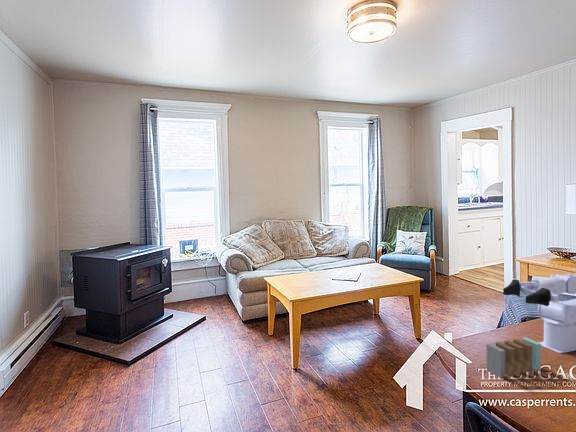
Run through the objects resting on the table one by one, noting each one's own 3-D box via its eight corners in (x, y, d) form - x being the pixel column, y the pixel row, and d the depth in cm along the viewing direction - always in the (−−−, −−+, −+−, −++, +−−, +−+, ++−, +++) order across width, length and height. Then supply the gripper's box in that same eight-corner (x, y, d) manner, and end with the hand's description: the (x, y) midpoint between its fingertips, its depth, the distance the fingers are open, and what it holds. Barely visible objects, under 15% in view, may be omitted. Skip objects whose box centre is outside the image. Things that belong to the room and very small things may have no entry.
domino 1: (499, 367, 106) (499, 341, 106) (514, 375, 102) (514, 348, 101) (495, 367, 106) (495, 342, 106) (509, 376, 101) (510, 349, 101)
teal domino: (525, 361, 109) (525, 337, 109) (540, 369, 104) (540, 343, 104) (521, 362, 109) (521, 338, 108) (536, 370, 104) (536, 344, 103)
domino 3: (516, 363, 108) (517, 338, 108) (532, 371, 103) (532, 345, 103) (512, 364, 108) (513, 339, 107) (527, 372, 103) (528, 346, 103)
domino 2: (508, 365, 107) (508, 340, 107) (523, 373, 103) (523, 347, 102) (504, 366, 107) (504, 341, 106) (518, 374, 102) (519, 347, 102)
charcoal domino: (490, 368, 106) (490, 343, 105) (505, 377, 101) (505, 350, 100) (486, 369, 105) (486, 344, 105) (500, 378, 100) (500, 351, 100)
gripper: (524, 271, 121) (495, 277, 117) (569, 283, 108) (538, 291, 104) (523, 290, 123) (494, 296, 118) (567, 305, 109) (537, 313, 105)
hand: (515, 295), depth 111 cm, fingers open, 7 cm apart
